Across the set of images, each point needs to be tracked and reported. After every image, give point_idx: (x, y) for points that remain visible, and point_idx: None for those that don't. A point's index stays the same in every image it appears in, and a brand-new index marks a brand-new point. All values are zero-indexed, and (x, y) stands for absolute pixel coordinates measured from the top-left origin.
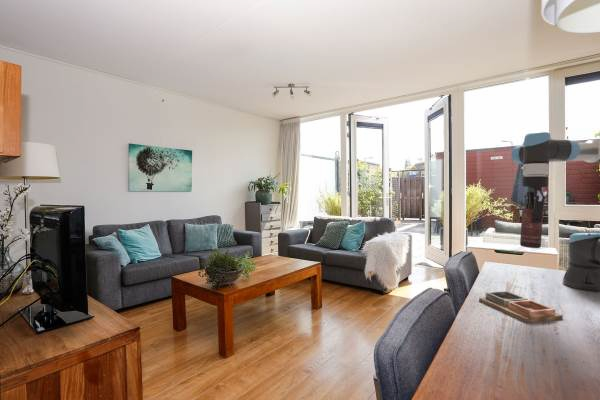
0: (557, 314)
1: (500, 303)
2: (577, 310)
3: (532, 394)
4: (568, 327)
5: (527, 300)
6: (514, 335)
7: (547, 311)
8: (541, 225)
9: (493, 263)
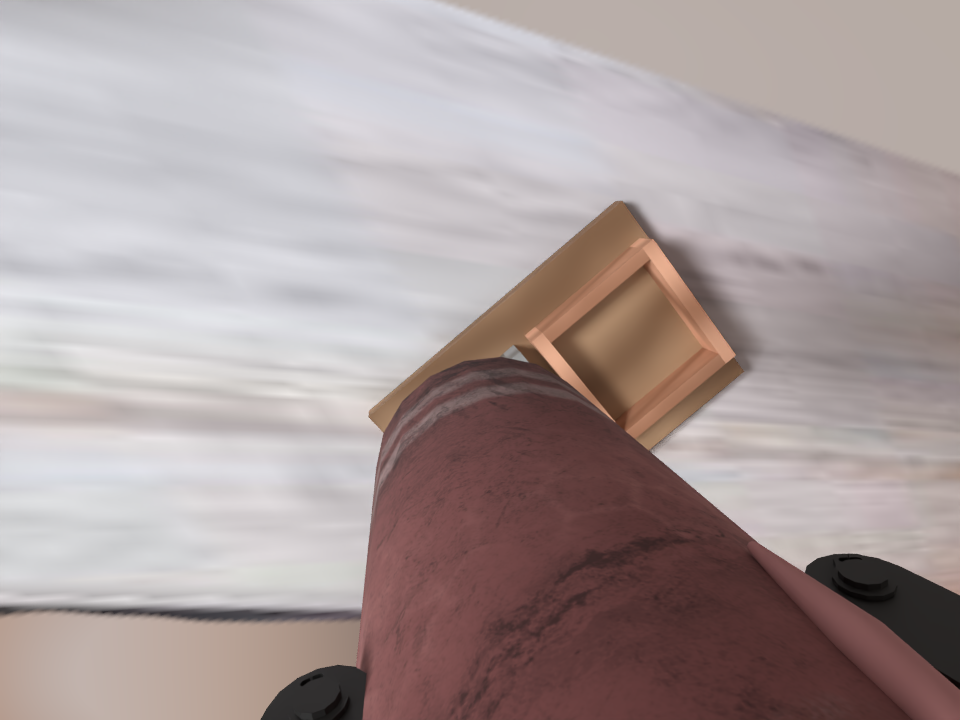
0: (616, 223)
1: None
2: (420, 83)
3: None
4: (719, 201)
5: (551, 356)
6: (882, 419)
7: (679, 279)
8: (677, 483)
9: None
